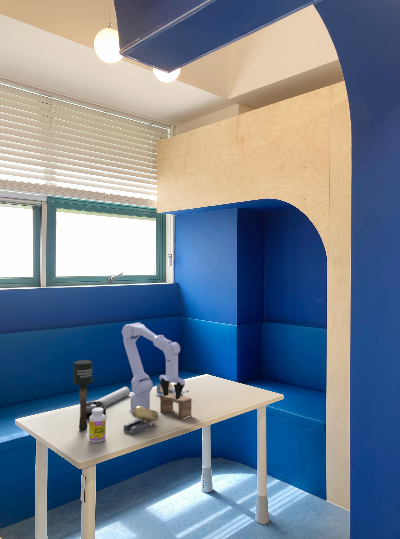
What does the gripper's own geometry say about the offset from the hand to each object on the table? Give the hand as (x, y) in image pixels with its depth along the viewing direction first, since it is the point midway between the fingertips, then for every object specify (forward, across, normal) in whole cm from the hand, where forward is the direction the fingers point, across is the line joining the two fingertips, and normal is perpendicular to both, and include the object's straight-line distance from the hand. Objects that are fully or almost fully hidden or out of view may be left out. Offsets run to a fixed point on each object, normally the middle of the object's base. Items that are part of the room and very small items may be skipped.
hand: (171, 397), depth 198 cm
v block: (+10, -3, -19) cm, 22 cm away
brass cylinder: (+7, -3, -15) cm, 17 cm away
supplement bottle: (+11, -8, -37) cm, 39 cm away
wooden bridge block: (+10, -3, +6) cm, 12 cm away
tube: (+11, -41, -2) cm, 43 cm away
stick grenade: (+11, -22, -34) cm, 42 cm away
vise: (+11, -22, +24) cm, 35 cm away
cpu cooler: (+11, -33, -20) cm, 40 cm away
